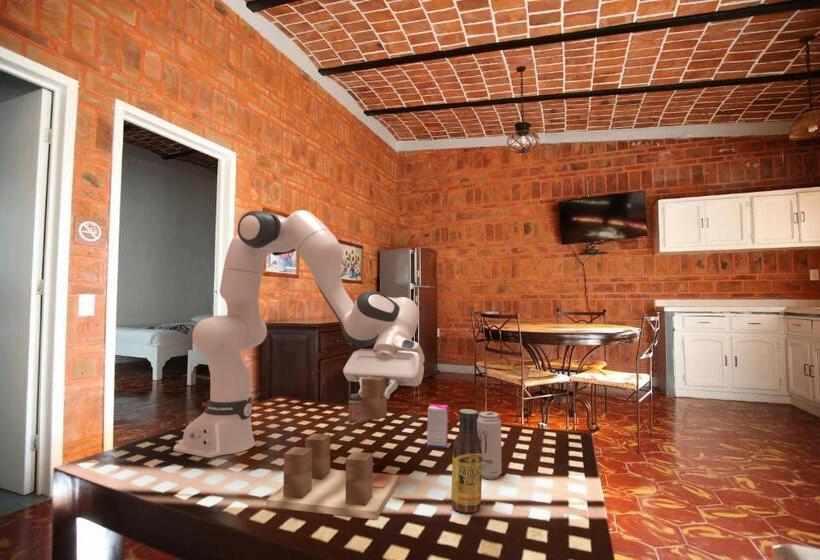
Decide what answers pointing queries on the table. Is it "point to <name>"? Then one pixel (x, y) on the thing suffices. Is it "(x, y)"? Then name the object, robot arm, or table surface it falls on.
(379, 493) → the board
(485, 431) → the energy drink can
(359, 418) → the lighter
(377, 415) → the walnut peg
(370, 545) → the table surface
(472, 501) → the sauce bottle
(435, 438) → the supplement box
